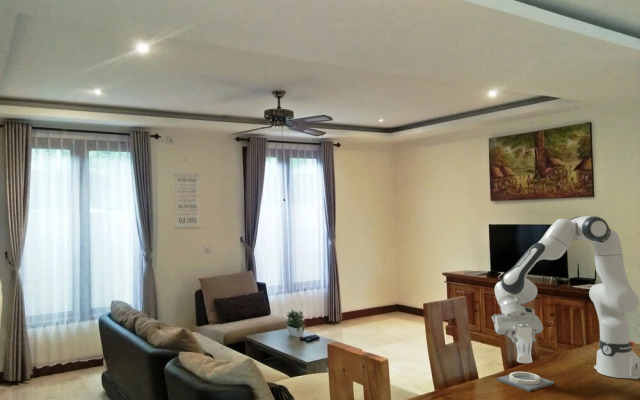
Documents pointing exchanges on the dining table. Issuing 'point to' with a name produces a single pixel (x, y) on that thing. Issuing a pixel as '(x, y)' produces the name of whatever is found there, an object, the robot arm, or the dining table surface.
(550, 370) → the dining table surface
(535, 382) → the slate tile
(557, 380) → the dining table surface
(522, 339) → the beer glass
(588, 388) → the dining table surface
